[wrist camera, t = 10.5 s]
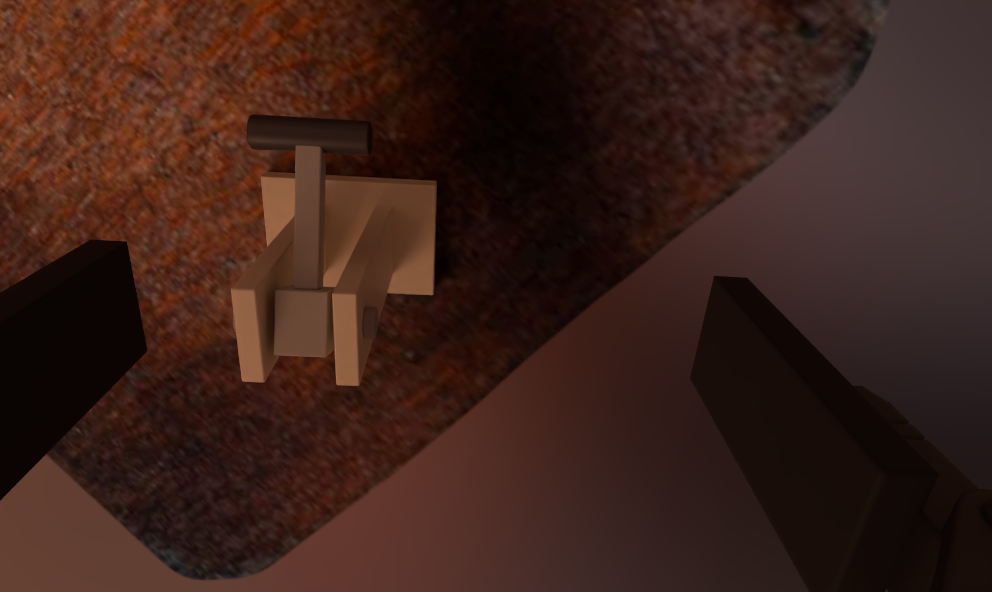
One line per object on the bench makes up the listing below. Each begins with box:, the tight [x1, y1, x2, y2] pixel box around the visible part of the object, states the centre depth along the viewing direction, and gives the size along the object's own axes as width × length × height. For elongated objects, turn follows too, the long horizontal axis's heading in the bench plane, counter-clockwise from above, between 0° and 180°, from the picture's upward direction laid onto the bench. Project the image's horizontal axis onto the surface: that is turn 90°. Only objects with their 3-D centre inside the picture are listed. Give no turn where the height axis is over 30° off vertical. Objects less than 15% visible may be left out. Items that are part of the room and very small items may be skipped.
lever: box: [247, 115, 372, 357], centre depth 27 cm, size 10×5×2 cm, turn 175°
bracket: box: [231, 172, 437, 386], centre depth 32 cm, size 7×10×14 cm
